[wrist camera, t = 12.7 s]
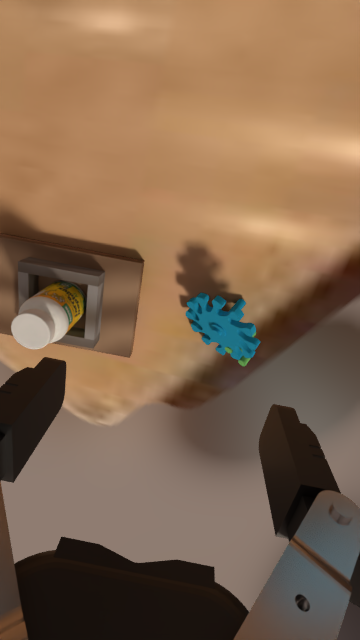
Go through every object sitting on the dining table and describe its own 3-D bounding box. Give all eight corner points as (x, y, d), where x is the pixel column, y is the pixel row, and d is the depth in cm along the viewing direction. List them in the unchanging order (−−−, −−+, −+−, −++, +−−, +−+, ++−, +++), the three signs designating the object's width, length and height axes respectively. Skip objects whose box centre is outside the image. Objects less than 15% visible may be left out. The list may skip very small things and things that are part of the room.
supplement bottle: (38, 293, 41) (-9, 323, 32) (69, 271, 39) (30, 295, 31) (65, 326, 42) (29, 363, 34) (96, 306, 41) (67, 339, 32)
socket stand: (0, 233, 40) (-21, 238, 36) (144, 260, 40) (138, 268, 36) (4, 327, 45) (-14, 340, 41) (132, 352, 45) (125, 367, 41)
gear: (169, 301, 40) (227, 299, 32) (197, 272, 43) (258, 265, 35) (210, 363, 45) (270, 375, 37) (233, 334, 47) (294, 340, 39)
